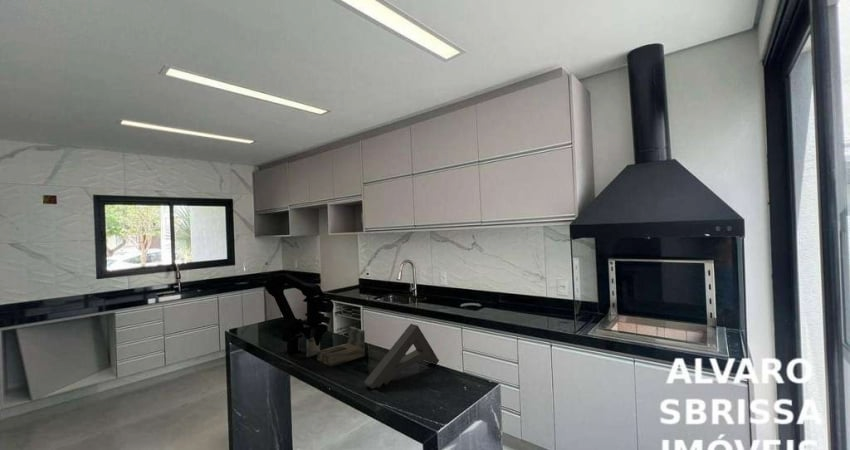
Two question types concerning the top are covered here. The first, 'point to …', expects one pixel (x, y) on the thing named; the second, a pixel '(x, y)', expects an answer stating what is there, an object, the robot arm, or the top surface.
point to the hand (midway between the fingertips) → (313, 343)
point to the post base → (345, 349)
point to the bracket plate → (311, 347)
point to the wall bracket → (402, 357)
